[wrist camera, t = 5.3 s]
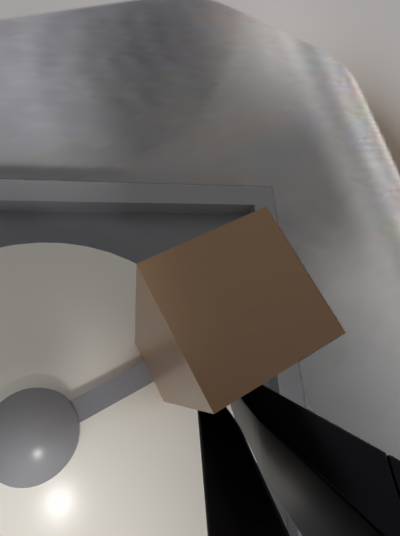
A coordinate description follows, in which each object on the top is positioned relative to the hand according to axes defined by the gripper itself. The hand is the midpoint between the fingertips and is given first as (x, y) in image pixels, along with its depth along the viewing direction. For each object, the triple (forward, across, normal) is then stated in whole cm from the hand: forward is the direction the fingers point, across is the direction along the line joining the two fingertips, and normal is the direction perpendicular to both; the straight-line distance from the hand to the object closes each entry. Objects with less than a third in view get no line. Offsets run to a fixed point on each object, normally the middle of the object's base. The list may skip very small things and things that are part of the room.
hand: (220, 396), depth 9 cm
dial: (+5, +5, +4) cm, 8 cm away
